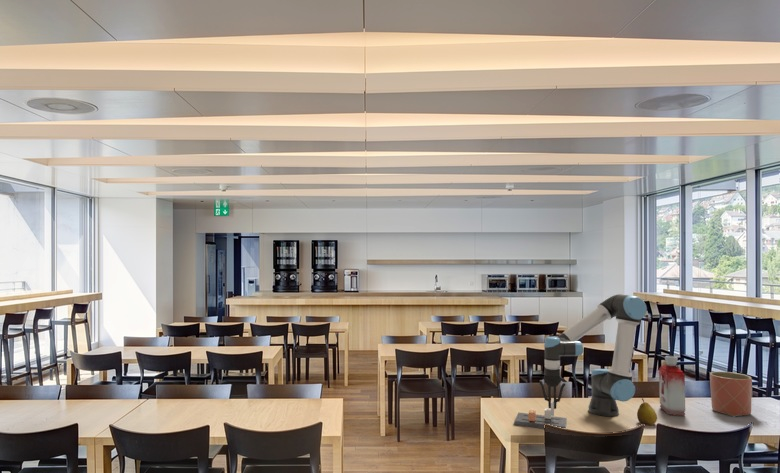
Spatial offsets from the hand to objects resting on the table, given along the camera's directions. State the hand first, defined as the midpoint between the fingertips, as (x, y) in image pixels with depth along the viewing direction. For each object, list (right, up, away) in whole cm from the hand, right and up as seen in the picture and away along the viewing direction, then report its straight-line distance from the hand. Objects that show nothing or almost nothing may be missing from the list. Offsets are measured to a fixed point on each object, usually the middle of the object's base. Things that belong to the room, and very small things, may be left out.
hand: (552, 414), depth 255 cm
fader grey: (-2, -2, +1) cm, 3 cm away
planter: (+104, -6, +19) cm, 106 cm away
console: (-6, -4, -1) cm, 7 cm away
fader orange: (-11, -1, -3) cm, 12 cm away
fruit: (+48, -4, 0) cm, 48 cm away
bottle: (+72, -6, +19) cm, 74 cm away
